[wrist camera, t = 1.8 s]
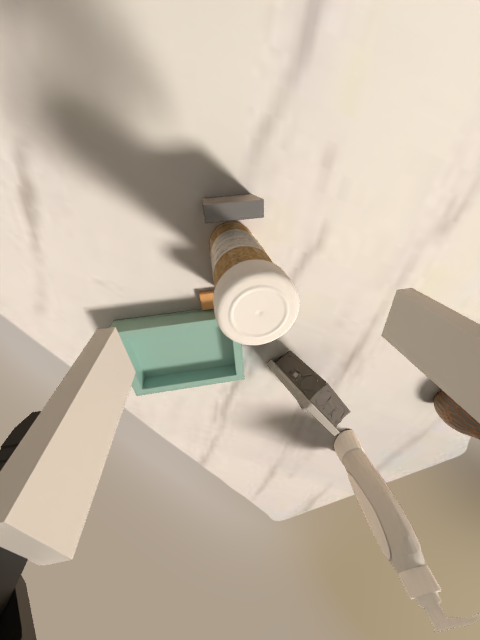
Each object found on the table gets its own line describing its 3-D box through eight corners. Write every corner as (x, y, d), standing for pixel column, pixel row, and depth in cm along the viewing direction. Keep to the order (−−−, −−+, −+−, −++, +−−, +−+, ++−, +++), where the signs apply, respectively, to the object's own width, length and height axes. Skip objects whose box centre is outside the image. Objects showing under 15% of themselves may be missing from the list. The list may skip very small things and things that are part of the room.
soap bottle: (364, 450, 53) (465, 623, 32) (332, 458, 53) (413, 637, 32) (371, 419, 45) (506, 618, 25) (333, 428, 45) (439, 635, 25)
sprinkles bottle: (251, 266, 24) (294, 346, 13) (209, 266, 24) (215, 351, 13) (255, 220, 22) (310, 271, 11) (207, 219, 21) (213, 272, 10)
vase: (448, 379, 41) (500, 423, 34) (469, 386, 44) (522, 428, 37) (419, 403, 45) (461, 448, 37) (440, 408, 47) (484, 451, 40)
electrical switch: (264, 360, 32) (290, 415, 24) (294, 339, 32) (331, 388, 24) (294, 391, 37) (324, 445, 29) (321, 373, 36) (359, 423, 29)
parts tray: (113, 320, 26) (105, 333, 23) (236, 304, 27) (239, 316, 25) (141, 380, 31) (136, 395, 29) (241, 365, 32) (244, 379, 30)
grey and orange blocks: (182, 199, 20) (177, 207, 16) (270, 192, 21) (287, 197, 17) (202, 307, 26) (202, 333, 22) (269, 299, 27) (282, 322, 23)
